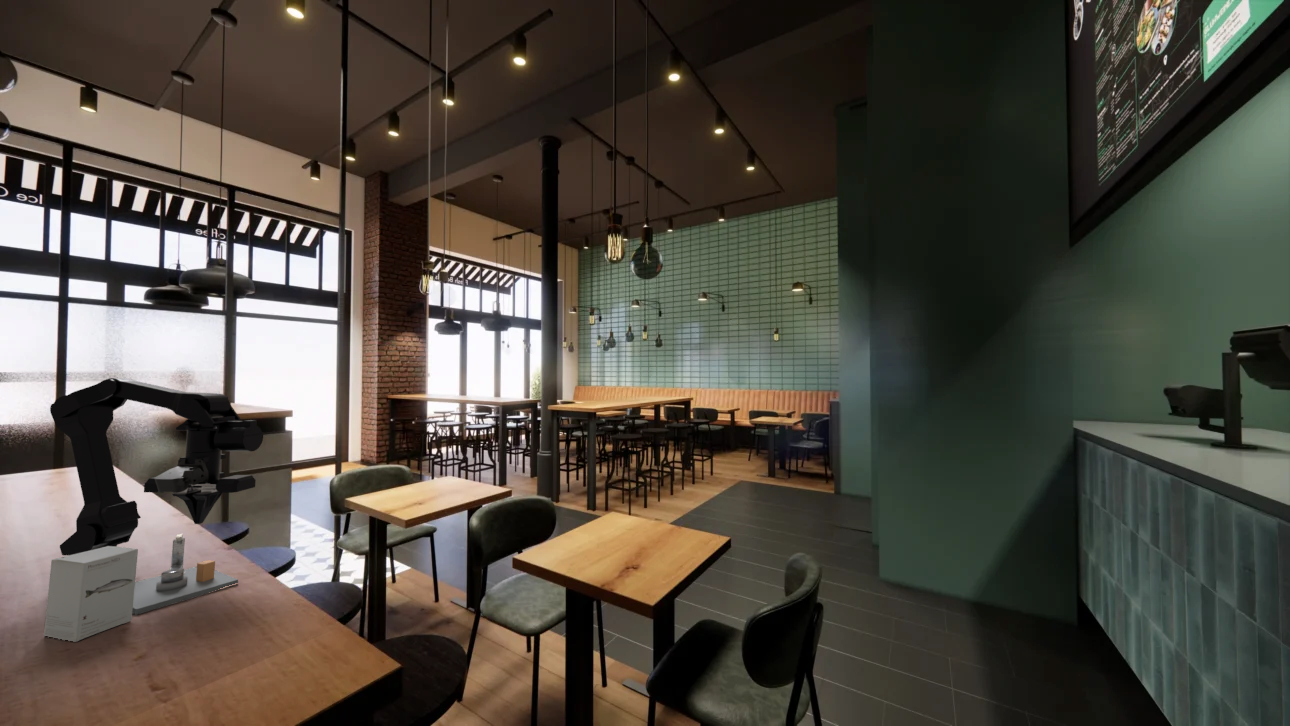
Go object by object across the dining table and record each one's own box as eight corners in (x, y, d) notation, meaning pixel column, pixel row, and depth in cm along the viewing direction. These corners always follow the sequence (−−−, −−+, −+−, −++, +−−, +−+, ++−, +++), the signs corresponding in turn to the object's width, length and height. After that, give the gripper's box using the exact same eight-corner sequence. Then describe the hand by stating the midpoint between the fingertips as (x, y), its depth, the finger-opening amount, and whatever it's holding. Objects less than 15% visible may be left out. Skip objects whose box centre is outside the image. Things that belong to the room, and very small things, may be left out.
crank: (182, 580, 93) (185, 545, 93) (159, 584, 91) (162, 548, 91) (188, 565, 101) (190, 532, 101) (167, 568, 98) (169, 535, 99)
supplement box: (75, 643, 74) (82, 563, 75) (41, 637, 76) (49, 558, 77) (133, 621, 82) (139, 548, 82) (102, 616, 83) (108, 544, 84)
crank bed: (102, 595, 91) (104, 571, 91) (202, 569, 104) (203, 549, 104) (135, 614, 84) (137, 589, 84) (237, 584, 97) (239, 562, 97)
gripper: (118, 456, 93) (112, 535, 92) (217, 456, 94) (211, 535, 93) (172, 448, 104) (167, 519, 103) (259, 449, 105) (255, 519, 104)
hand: (198, 523), depth 100 cm, fingers closed
